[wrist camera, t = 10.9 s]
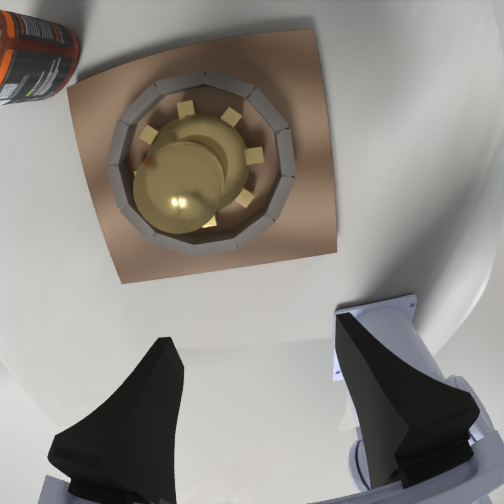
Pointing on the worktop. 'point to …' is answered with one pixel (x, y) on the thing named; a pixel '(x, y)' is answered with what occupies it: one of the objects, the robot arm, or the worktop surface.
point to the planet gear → (193, 170)
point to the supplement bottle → (34, 58)
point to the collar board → (249, 126)
